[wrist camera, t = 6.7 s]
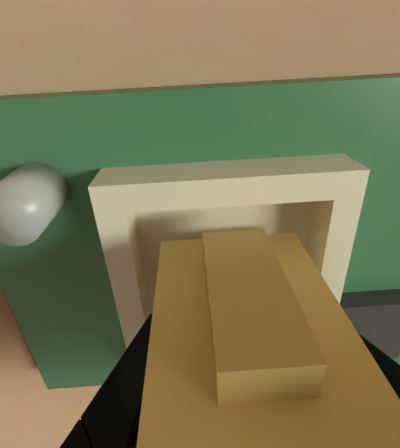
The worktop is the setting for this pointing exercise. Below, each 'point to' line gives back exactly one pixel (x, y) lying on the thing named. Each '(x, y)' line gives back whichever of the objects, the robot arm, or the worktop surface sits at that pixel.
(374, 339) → the board
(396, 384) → the robot arm
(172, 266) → the plug
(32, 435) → the worktop surface
